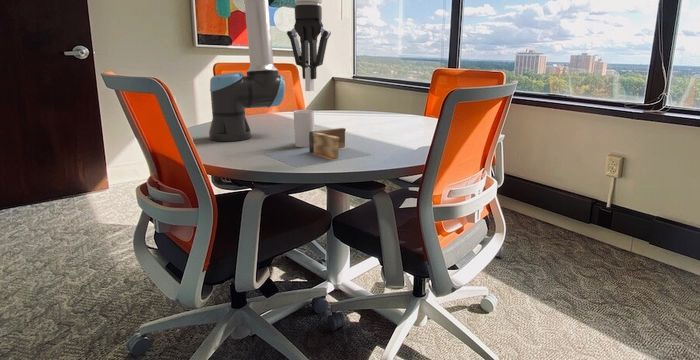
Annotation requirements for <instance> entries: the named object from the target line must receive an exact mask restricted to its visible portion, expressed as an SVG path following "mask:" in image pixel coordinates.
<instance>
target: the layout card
mask: <svg viewBox="0 0 700 360" xmlns="http://www.w3.org/2000/svg"><path fill="white" fill-rule="evenodd" d="M262 155H265V156H267V157H270V158H272V159H275V160H277V161H280V162H282V163H284V164H286V165H289V166H291V167H295V168H302V167H305V166H312V165H318V164H325V163H330V162H331V163H332V162H337V161H342V160H348V159H349V160H351V159H354V158H362V157H366V156H372V155H373V154H371V153H368V152H365V151H362V150H357V149H354V148H351V147H347V146H345V147H344V148H338V156H339V157H338V158H333V157H330V156H326V155H323V154H319V153H316V152H314V153H311V152H309V147H298V148H293V149H292V148H291V149H286V150H279V151H273V152H272V151H271V152H265V153H262Z"/></svg>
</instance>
